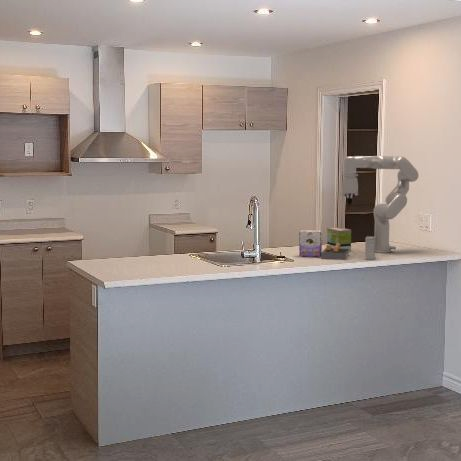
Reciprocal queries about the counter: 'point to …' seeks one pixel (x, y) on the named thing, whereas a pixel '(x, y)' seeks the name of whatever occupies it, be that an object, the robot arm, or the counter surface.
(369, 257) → the junction box
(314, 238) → the candy box
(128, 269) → the counter surface
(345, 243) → the tea box
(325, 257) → the breaker panel
